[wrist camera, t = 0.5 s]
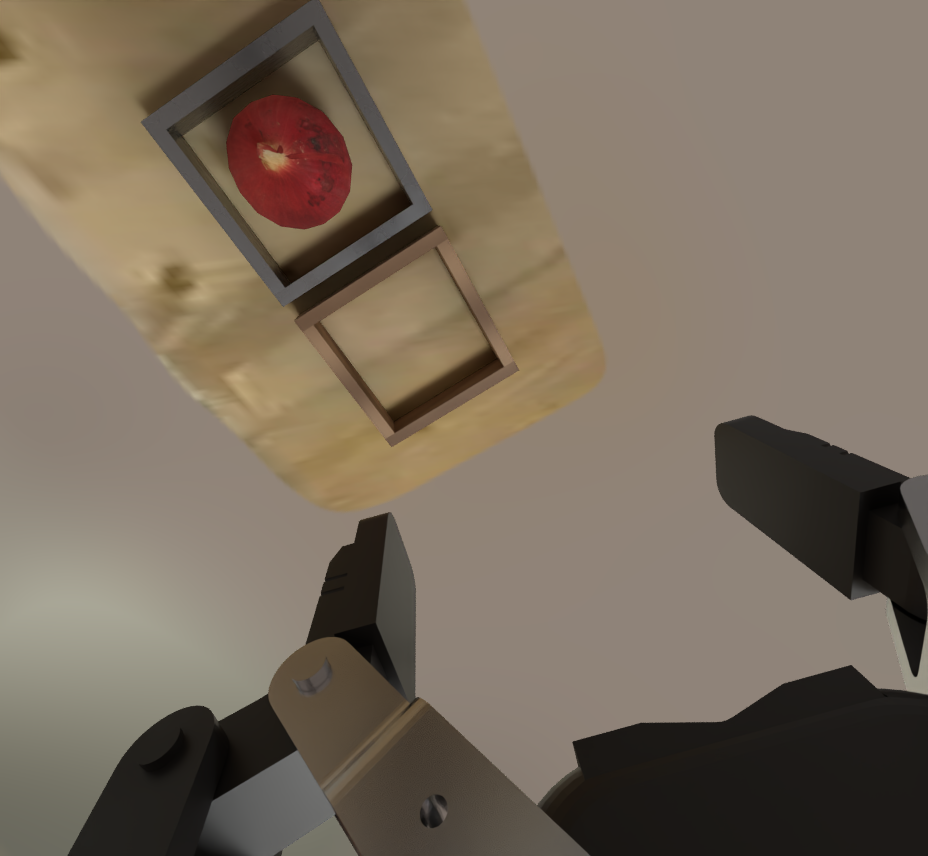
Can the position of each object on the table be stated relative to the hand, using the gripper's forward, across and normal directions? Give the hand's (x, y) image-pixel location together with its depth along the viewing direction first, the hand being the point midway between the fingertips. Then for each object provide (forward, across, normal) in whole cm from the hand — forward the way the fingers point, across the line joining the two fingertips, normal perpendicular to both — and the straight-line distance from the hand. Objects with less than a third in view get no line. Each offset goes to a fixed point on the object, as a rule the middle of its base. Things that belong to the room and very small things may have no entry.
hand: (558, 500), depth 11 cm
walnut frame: (+22, +4, -1) cm, 23 cm away
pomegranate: (+21, +7, -12) cm, 26 cm away
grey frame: (+21, +7, -12) cm, 25 cm away
